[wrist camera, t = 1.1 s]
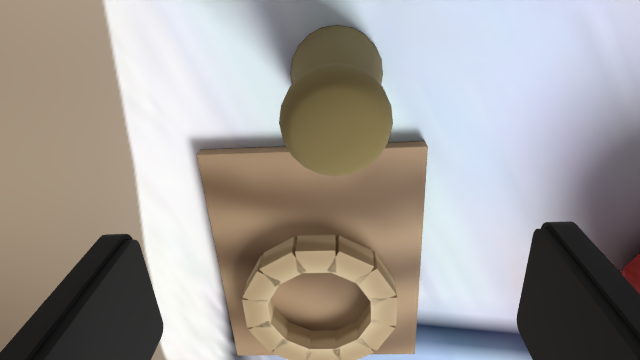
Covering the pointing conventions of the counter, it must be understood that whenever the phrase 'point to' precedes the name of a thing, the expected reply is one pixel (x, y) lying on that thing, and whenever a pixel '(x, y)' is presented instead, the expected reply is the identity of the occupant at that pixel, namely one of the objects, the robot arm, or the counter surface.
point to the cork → (336, 103)
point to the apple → (633, 273)
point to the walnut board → (317, 232)
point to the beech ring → (320, 257)
